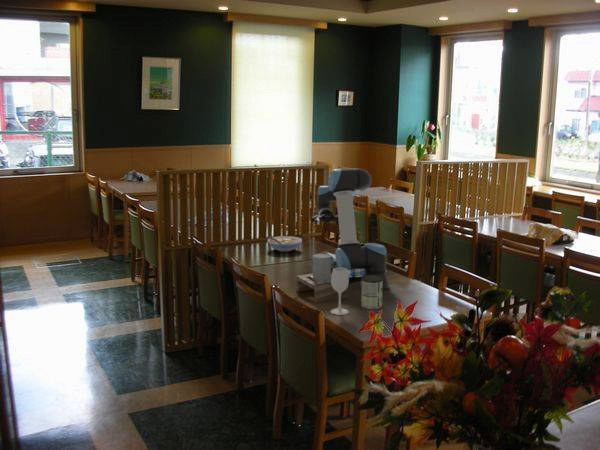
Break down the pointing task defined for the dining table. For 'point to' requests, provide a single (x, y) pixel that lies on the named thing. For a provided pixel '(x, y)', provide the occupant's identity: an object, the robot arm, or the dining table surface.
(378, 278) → the coffee can
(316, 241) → the dining table surface
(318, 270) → the gray cylinder
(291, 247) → the ramen bowl
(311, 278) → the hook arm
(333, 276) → the wineglass
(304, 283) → the shelf
